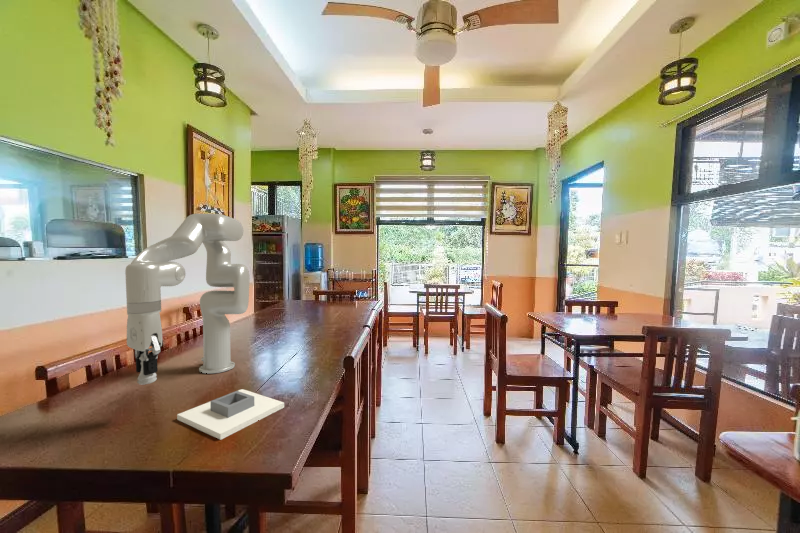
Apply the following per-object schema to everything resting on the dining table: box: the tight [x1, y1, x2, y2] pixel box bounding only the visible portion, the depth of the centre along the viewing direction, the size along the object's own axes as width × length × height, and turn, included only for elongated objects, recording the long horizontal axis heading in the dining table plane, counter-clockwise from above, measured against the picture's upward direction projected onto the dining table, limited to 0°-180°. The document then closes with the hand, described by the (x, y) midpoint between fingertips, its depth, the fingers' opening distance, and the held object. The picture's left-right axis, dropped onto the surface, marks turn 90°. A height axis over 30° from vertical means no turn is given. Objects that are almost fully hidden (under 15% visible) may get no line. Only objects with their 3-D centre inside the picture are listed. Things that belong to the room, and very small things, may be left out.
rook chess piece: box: [136, 351, 158, 386], centre depth 92 cm, size 4×4×8 cm
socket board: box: [176, 388, 285, 441], centre depth 95 cm, size 20×20×4 cm
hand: (146, 371), depth 92 cm, fingers closed on rook chess piece, 3 cm apart
